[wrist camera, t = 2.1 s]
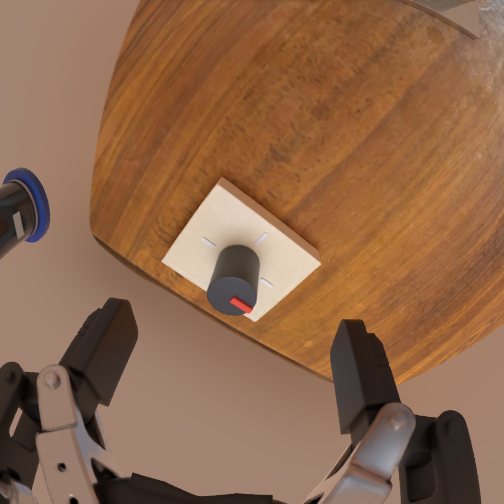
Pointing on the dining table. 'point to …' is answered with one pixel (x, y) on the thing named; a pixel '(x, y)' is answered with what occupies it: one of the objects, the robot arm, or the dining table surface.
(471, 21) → the bracket
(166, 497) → the robot arm
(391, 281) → the dining table surface
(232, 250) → the dial
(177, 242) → the dial panel
